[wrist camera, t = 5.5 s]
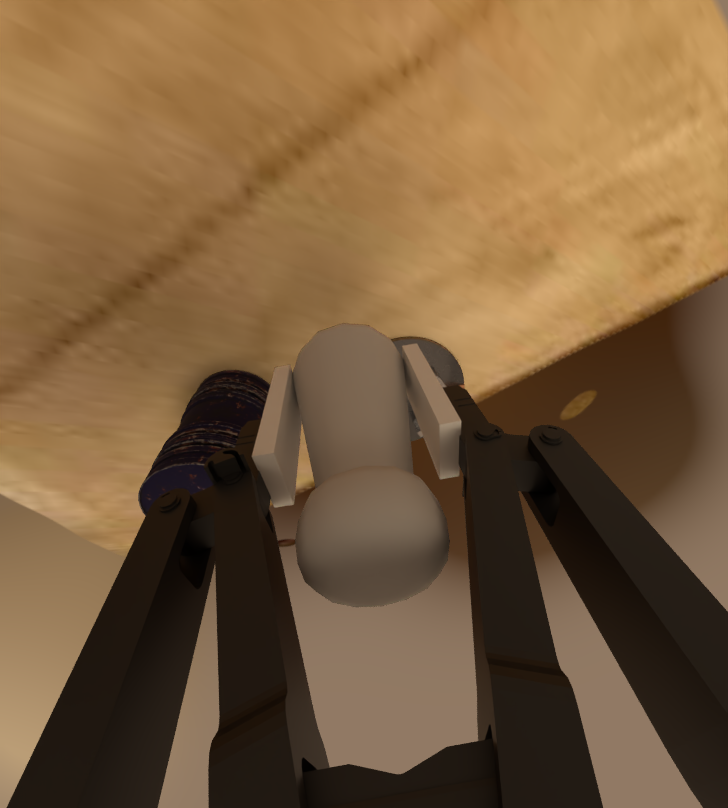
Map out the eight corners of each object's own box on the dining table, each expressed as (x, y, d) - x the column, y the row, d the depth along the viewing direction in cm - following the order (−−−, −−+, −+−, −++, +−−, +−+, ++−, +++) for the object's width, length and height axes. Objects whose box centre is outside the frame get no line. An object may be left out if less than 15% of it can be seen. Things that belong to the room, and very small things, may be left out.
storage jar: (213, 353, 36) (157, 444, 24) (295, 392, 40) (283, 487, 27) (183, 418, 40) (122, 524, 28) (260, 447, 44) (236, 551, 31)
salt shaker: (279, 373, 19) (223, 614, 9) (328, 288, 17) (335, 473, 6) (362, 413, 21) (400, 644, 11) (416, 342, 19) (535, 549, 8)
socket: (352, 446, 45) (354, 463, 43) (333, 347, 37) (334, 361, 34) (458, 429, 46) (467, 445, 43) (464, 327, 37) (476, 338, 35)
